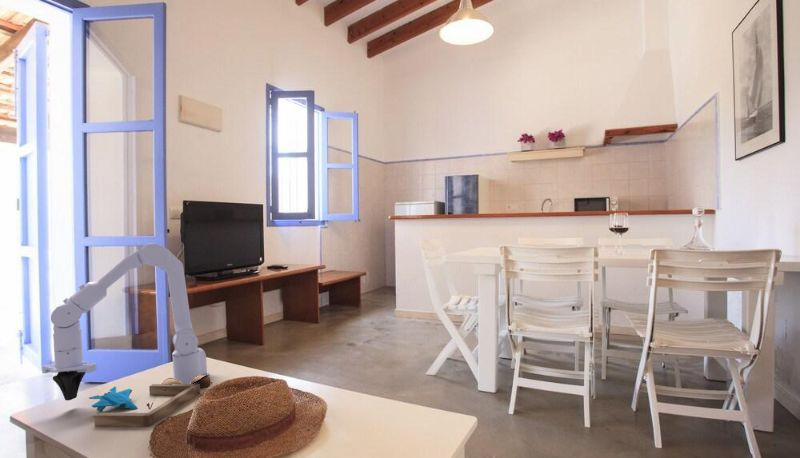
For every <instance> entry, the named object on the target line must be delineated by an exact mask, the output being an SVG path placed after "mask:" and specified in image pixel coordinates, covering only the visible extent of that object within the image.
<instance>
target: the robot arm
mask: <svg viewBox="0 0 800 458" xmlns="http://www.w3.org/2000/svg"><path fill="white" fill-rule="evenodd" d="M143 263H144V264H145V265H148V266H153V267H157V268H158V269H160V270H162V271H163V272H165V273H166V276H167V277H166V278H167V283H168V284H167V285H168V290H169V298H170V305H171V311H172V317H173V327H174V332H173V337H172V344H173V346H174V350H173V352H172V353H171V355H172V370H173V380H174V379H177V380H179V381H181V382H182V383H183V384H190V382H191V381H192V380H193V379H194V378H195V377H197V376H199V375H207V376H209V375H210V372H208V367H207V355H206V354H207V353H206V352H205V350H204V349H203V348H201V347H198V345H199V339H198V337H197V335H196V334H195V332H194V329H193V328H194V327H193V323H192V319H191V312H190V305H189V298H188V292H187V291H188V289H187V284H186V277H185V276H186V275H185V270H184V264H183V263H182V261H180V259H179V258H177V257H176V255H174V253H172V252H171V251H170V250H169V249H168V248H167V247H164V246H162V245H160V244H159V243H154V242H153V243H151V242H150V243H147V244H144V245H143V246H142V247H141V248H140V250H139V249H137V250H135V251H134V252H132V253H130V254H129V255H127V256H125V257H124V258H123V259H122V260H121V261H119V263H118V264H116V265H115V266H114V267H113V268H111V269H110V270H109V271H108V272H107V273H106V274H105V275H103V276H102V277H101V278H100V279H99V280H97V281H89V282H87V283H86V284H85V283H82V284H80V286H79V287H78V288H79V289H78V290H77V291H76V292H74V294H72V295H71V296H70V297H69V298H65V299H63V300H62V302H63V304H60V305H59V306H57V307H56V308H55V309H54V310H53V311H52V313H51V315H50V322H51V323H52V324H53V335H52V336H53V350H54V352H53V353H54V363H48V364H45V365H41V371H42V372H41V373H42V374H48V373H55V374H57V375H54V376H52V381H54V382H55V383H56V385H57V386H58V388H59V389H60V391H61V393H62V395H63V398H64V401H71V400H72V401H73V400H74V399H75V398H77V396H78V392H79V389H80V385H81V383H82V381H83V378H84V377H85V375H86V374H91V373H93V372H96V371H97V370H98V369H97V363H95V362H87V361H84V360H83V359H84V357H83V344H82V343H83V342H82V329H81V325H80V319H81V317H82V315H83V314H86V313H88V312H89V311H90V310H92V308H94V307H95V306H96V305H97V304H98V303H100V302H101V301H102V300H103V299H105V298H106V297H107V293H108V292H107V291H108V288H110V287H111V286H112V285H113V284H114V283H116V282H117V281H118V280H119V279H122V277H123V276H124V275H126V274H127V273H129V272H130V271H131V270H132V269H136V268H141V267H143Z"/></svg>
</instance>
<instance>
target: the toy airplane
mask: <svg viewBox="0 0 800 458" xmlns="http://www.w3.org/2000/svg"><path fill="white" fill-rule="evenodd" d="M108 390H109V391H107V392H104V394H103V395H98V394H97V395H93V396H90V397H88V399H89V400H98V401H97V402H95V403H93V404H92V405H91V407H92V408H96V411H98V412H99V411H101V412H103V410H104V409H105V408H106V407H113V406H115V407H118V408H125V409H126V408H127V409H130V410H138V409H139V408H138V406H137V405H136V404H135V403H134V402H132V398H130V395H131V394H132V392H133V390H132V389H131V388H128V389H127V388H126V389H124V390H121V391H117V386H113V387H112V388H111V389H108Z"/></svg>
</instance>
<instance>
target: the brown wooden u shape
mask: <svg viewBox="0 0 800 458" xmlns="http://www.w3.org/2000/svg"><path fill="white" fill-rule="evenodd" d="M162 384H163V383H153V384H150V385H149V386H148V388H149V391H148V392H149V396H173V397H170V399H168V400H166V401H165V402H163V403H161V404H159V405H158V406H157V407H155V408H153V409H152V410H150V411H148V412H98V413H96V414H94V415H93V420H94V421H93V422H94V427H151V426H153V425H154V424H156V423H157V422H159V421H160V420H161V419H162V418H164V417H166V416H167V415H169V414H171V413H172V412H173V411H175V410H176V409H178V408H179V407H181V406H183V405H184V404H186V403H187V402H188V401H190V400H191V399H193V398H194V397H196V396H198V395H199V394H201V384H200V383H194V384H172V385H162ZM163 388H166V391H164V390H163Z"/></svg>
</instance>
